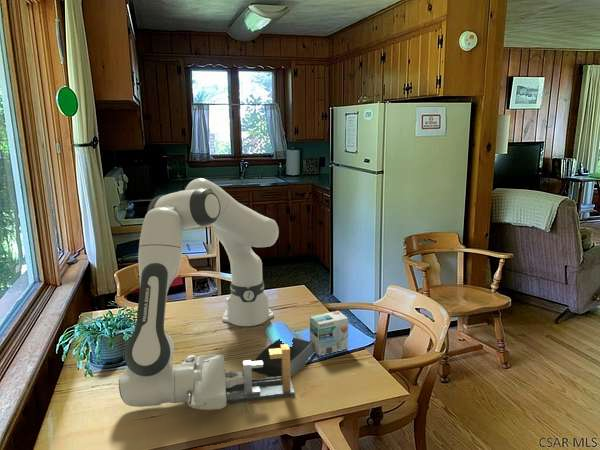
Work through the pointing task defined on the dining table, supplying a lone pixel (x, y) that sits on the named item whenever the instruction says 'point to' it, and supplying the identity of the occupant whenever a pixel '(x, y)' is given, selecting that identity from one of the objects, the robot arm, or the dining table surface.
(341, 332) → the light bulb box
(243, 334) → the dining table surface
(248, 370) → the retention clip
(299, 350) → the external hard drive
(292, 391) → the sliding rail fixture
